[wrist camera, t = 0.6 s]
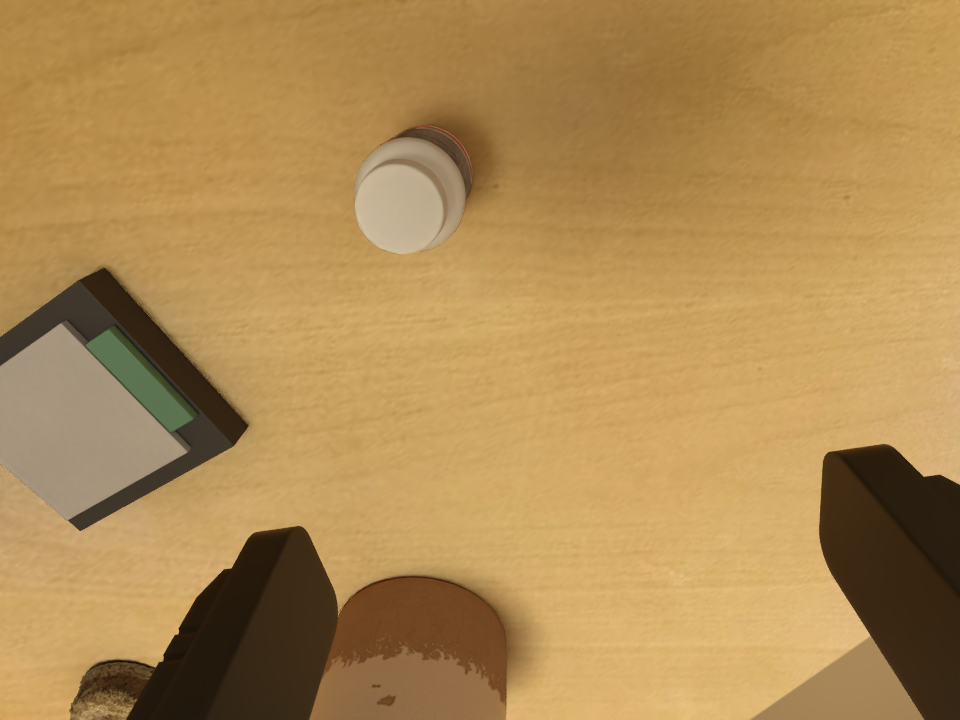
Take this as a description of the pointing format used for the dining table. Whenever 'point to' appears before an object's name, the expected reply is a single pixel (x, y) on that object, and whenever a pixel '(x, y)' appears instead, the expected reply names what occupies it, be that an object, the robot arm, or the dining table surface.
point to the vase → (414, 656)
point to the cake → (110, 691)
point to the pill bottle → (413, 190)
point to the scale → (103, 404)
